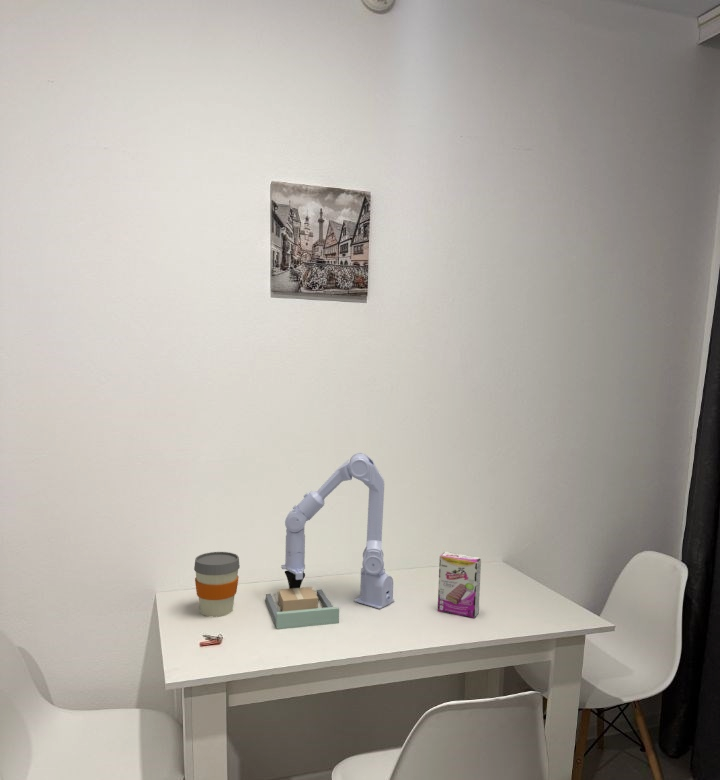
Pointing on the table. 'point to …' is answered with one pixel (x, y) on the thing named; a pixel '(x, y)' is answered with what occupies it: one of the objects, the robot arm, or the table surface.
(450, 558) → the candy bar box
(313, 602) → the carton
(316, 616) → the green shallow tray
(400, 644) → the table surface
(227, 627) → the table surface
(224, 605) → the reusable coffee cup
